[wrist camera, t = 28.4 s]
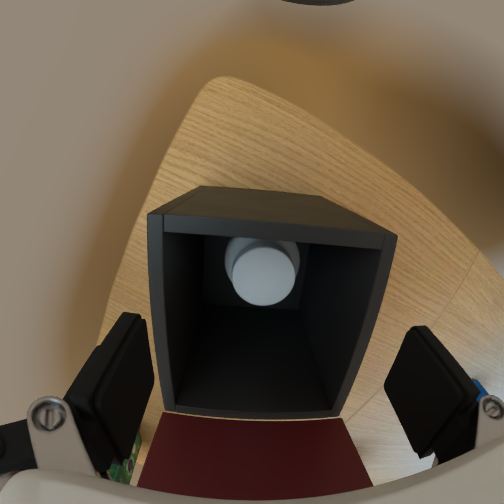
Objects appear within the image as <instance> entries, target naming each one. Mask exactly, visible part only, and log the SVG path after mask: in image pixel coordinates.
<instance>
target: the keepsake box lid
mask: <svg viewBox="0 0 504 504" xmlns="http://www.w3.org/2000/svg"><path fill="white" fill-rule="evenodd" d="M137 487H140V488H145V489H149V490H154V491H159V492H165V493H171V494H177V495H184V496H192V497H200V498H210V499H223V500H247V501H263V500H287V499H300V498H310V497H319V496H326V495H333V494H339V493H345V492H350V491H355V490H360V489H364V488H368V487H373V484H372V482H371V480H370V477H369V475H368V473H367V471H366V469H365V467H364V465H363V462H362V460H361V458H360V456H359V454H358V452H357V450H356V447H355V445H354V443H353V441H352V439H351V437H350V435H349V432H348V430H347V428H346V426H345V424H344V422H343V420H342V418H335V419H323V420H307V421H242V420H226V419H213V418H203V417H195V416H187V415H179V414H173V413H166V412H163V413H162V416H161V418H160V421H159V424H158V427H157V429H156V432H155V435H154V438H153V441H152V443H151V446H150V449H149V452H148V455H147V458H146V460H145V463H144V466H143V469H142V472H141V475H140V478H139V481H138V484H137Z"/></svg>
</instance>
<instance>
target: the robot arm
mask: <svg viewBox="0 0 504 504" xmlns="http://www.w3.org/2000/svg"><path fill="white" fill-rule="evenodd" d="M153 386H154V372H153V366H152V360H151V353H150V347H149V340H148V332H147V324H146V320H145V319H141V316H140V314H135V313H129V312H123V313H122V314H121V316H120V317H119V318H118V320H117V321H116V323H115V324H114V326H113V327H112V329H111V330H110V332H109V333H108V334H107V336H106V337H105V339H104V340H103V342H102V343H101V345H99V346H97V347H96V348H95V349H94V351H93V352H92V354H91V355H90V357H89V358H88V360H87V361H86V363H85V364H84V366H83V368H82V369H81V371H80V372H79V374H78V375H77V377H76V379H75V380H74V382H73V383H72V385H71V386H70V388H69V390H68V391H67V393H66V395H65V396H64V398H63V400H62V399H60V398H58V397H54V396H46V397H42V398H39V399H37V400H36V401H34V402H33V403H32V404H31V406H30V407H29V409H28V412H27V419H24V420H20V421H17V422H13V423H9V424H5V425H1V426H0V504H504V403H503V401H502V400H501V399H499V398H498V397H496V396H494V395H485V396H483V397H482V398H481V399H480V400H479V402H478V401H477V400H476V399H477V398H478V396H479V395H480V393H481V391H480V390H479V389H478V387H477V386H476V385H475V383H474V382H473V381H472V380H471V378H470V377H469V376H468V374H467V373H466V372H465V371H464V369H463V368H462V367H461V366H460V365H459V363H458V362H457V361H456V360H455V358H454V357H453V356H452V355H451V354H450V352H449V351H448V350H447V349H446V348H445V347H444V345H443V344H442V343H441V342H440V341H439V340H438V338H437V337H436V336H435V335H434V334H433V333H432V332H431V330H430V329H429V328H428V327H427V326H413V327H411V328H410V330H409V331H408V332H407V333H406V335H405V338H404V340H403V342H402V345H401V347H400V350H399V352H398V354H397V356H396V359H395V361H394V363H393V365H392V367H391V369H390V372H389V374H388V376H387V378H386V380H385V382H384V390H385V392H386V394H387V396H388V398H389V400H390V402H391V404H392V406H393V408H394V410H395V412H396V414H397V416H398V418H399V421H400V423H401V425H402V427H403V429H404V431H405V433H406V435H407V438H408V440H409V442H410V444H411V446H412V448H413V450H414V452H415V453H417V454H418V456H419V458H420V459H421V458H424V457H427V456H430V455H431V454H432V453H433V452H434V453H435V458H434V461H433V465H432V468H430V469H427V470H425V471H422V472H419V473H416V474H414V475H411V476H408V477H404V478H401V479H398V480H395V481H391V482H388V483H384V484H380V485H377V486H373V487H368V488H364V489H360V490H355V491H350V492H345V493H339V494H333V495H326V496H319V497H310V498H300V499H287V500H263V501H247V500H223V499H210V498H200V497H192V496H184V495H177V494H171V493H165V492H159V491H154V490H149V489H145V488H140V487H136V486H132V485H128V484H123V483H119V482H115V481H113V480H112V478H111V476H110V474H109V472H108V470H110V467H111V464H116V465H119V466H122V465H123V462H124V459H126V460H128V459H129V458H130V456H131V453H132V449H133V446H134V443H135V440H136V437H137V433H138V430H139V427H140V424H141V421H142V418H143V415H144V412H145V409H146V406H147V403H148V400H149V397H150V394H151V391H152V389H153Z"/></svg>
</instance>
